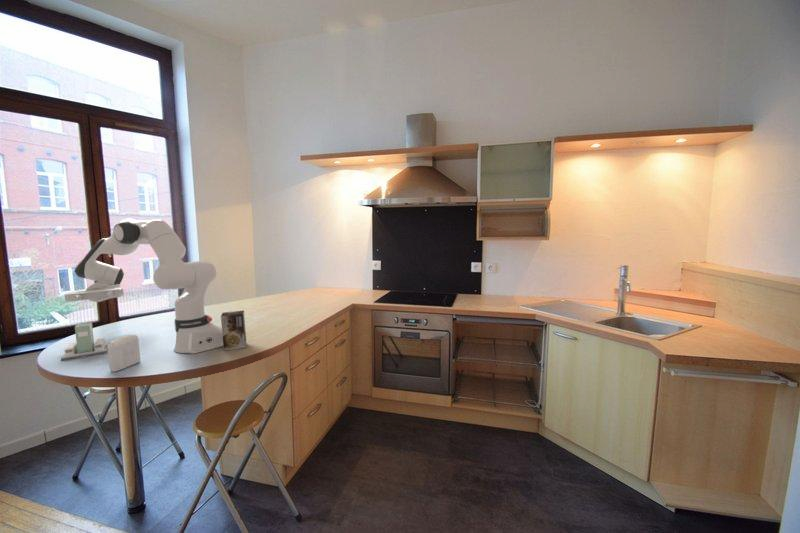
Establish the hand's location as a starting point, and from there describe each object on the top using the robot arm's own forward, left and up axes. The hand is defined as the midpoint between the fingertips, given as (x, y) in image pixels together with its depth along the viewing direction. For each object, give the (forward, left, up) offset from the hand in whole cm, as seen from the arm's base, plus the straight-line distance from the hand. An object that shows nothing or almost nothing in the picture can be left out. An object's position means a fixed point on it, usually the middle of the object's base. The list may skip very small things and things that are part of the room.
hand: (93, 296), depth 146 cm
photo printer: (-12, +37, -24) cm, 45 cm away
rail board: (+3, +8, -23) cm, 25 cm away
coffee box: (-50, +40, -24) cm, 69 cm away
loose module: (+3, +8, -23) cm, 24 cm away
